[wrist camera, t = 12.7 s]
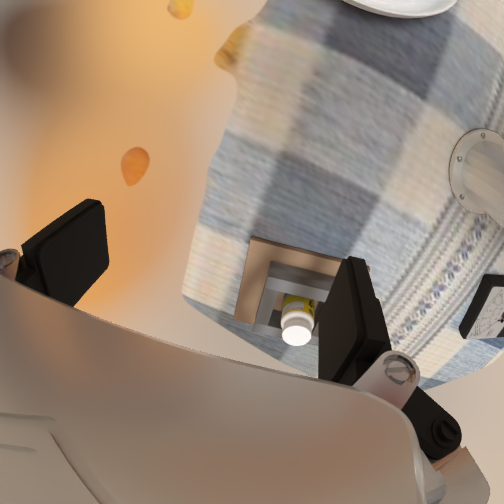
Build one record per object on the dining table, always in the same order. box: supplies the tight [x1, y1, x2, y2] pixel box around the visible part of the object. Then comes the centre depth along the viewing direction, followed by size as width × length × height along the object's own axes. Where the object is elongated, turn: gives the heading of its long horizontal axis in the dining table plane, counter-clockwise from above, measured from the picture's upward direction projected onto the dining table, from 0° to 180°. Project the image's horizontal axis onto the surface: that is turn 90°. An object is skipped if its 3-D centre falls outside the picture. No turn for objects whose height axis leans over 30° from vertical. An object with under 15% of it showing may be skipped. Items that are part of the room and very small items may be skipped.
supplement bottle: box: [281, 293, 314, 346], centre depth 41 cm, size 5×5×8 cm
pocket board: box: [234, 237, 370, 346], centre depth 44 cm, size 18×16×5 cm
